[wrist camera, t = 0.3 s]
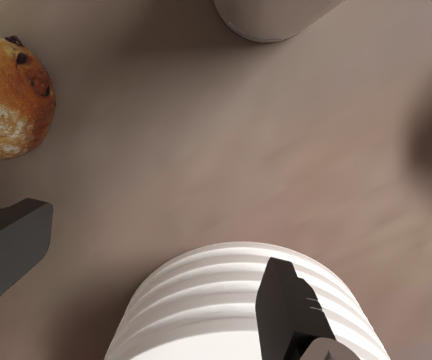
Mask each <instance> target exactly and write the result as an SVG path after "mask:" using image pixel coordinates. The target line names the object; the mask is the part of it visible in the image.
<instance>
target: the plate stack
mask: <svg viewBox="0 0 432 360" xmlns="http://www.w3.org/2000/svg"><path fill="white" fill-rule="evenodd" d="M270 257H274V258H278V259H282V260H286V261H290V262H292V264H293V266H294V269H295V271H296V274H297V276H298V277H299V278H303V279H304V280H305V281H306V282H307V283H308V284H309V285H310V286H311V287H312V288H313V290H314V292H315V294H316V296H317V298H318V302H319V303H320V305H321V307H322V311H323V312H324V314H325V316H326V318H327V320H328V322H329V325H330V327H331V329H332V331H333V333H334V336H335V338H336V340H337V341H338V342H340V343H342V344H343V345H345V346H346V347H348V348H349V349H351V350H352V351H353V352H354V353H355V354H356V355H357V356H358V357H359V358H360V360H391V359H390V358H389V356H388V354H387V352H386V350H385V349H384V347H383V345H382V343H381V342H380V340H379V338H378V337H377V335H376V333H375V332H374V330H373V328H372V326H371V325H370V323H369V321H368V319H367V318H366V316H365V314H364V313H363V311H362V309H361V308H360V306H359V304H358V302H357V301H356V299H355V297H354V296H353V294H352V293H351V291H350V290H349V288H348V287H347V286H346V285H345V284H344V283H343V282H342V280H341V279H340V278H339V277H338V276H336V275H335V274H334V273H333V272H332V271H330V270H329V269H328V268H326V267H325V266H324V265H322V264H321V263H319V262H317V261H316V260H314V259H312V258H310V257H308V256H306V255H304V254H301V253H299V252H296V251H294V250H291V249H288V248H284V247H281V246H277V245H272V244H266V243H258V242H226V243H218V244H212V245H208V246H204V247H200V248H197V249H193V250H191V251H188V252H185V253H183V254H181V255H179V256H177V257H175V258H173V259H171V260H169V261H168V262H166V263H164V264H163V265H161V266H160V267H159V268H157V269H156V270H155V271H154V272H152V273H151V274H150V275H149V276H148V277H147V278H146V279H145V280H144V281H143V282H142V283H141V285H140V286H139V287H138V289H137V290H136V291H135V293H134V295H133V296H132V298H131V300H130V302H129V304H128V306H127V308H126V311H125V313H124V316H123V317H122V320H121V322H120V324H119V326H118V328H117V331H116V333H115V336H114V337H113V339H112V342H111V344H110V346H109V348H108V350H107V353H106V355H105V358H104V360H262V356H261V349H260V341H259V334H258V327H257V320H256V312H255V302H256V296H257V292H258V289H259V286H260V283H261V280H262V277H263V274H264V271H265V268H266V265H267V263H268V260H269V259H270Z"/></svg>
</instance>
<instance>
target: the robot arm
mask: <svg viewBox="0 0 432 360" xmlns="http://www.w3.org/2000/svg"><path fill="white" fill-rule="evenodd" d="M213 1H214V4H215V7H216V9H217V11H218V13H219V15H220V16H221V18H222V20H223V21H224V22H225V23H226V24H227V25H228V26H229V27H230V29H231V30H233V31H234V32H236V33H237V34H238V35H240V36H241V37H244V38H246V39H249V40H251V41H255V42H262V43H270V42H278V41H281V40H285V39H288V38H290V37H292V36H294V35H295V34H297V33H299V32H301V31H302V30H303V29H305V28H306V27H308V26H309V25H310V24H312V23H314V22H315V21H316V20H318V19H319V18H321V17H322V16H323V15H325V14H326V13H328V12H329V11H330V10H332V9H333V8H334V7H336V6H337V5H339V4H340V3H341V2H343V1H344V0H213ZM52 215H53V206H52V204H51V203H48V202H43V201H39V200H35V199H31V198H27V199H24V200H22V201H20V202H18V203H16V204H14V205H12V206H10V207H7V208H3V209H0V296H1V295H2V294H3V293H4V292H5V291H6V290H8V289H9V288H10V287H11V286H12V285H13V284H14V283H16V282H17V281H18V280H19V279H20V278H21V277H22V276H23V275H25V274H26V273H27V272H28V271H29V270H30V269H31V268H33V267H34V266H35V265H36V264H37V263H38V262H39V261H41V260H42V258H43V257H44V256H45V254H46V252H47V250H48V247H49V244H50V235H51V225H52ZM255 312H256V320H257V327H258V334H259V341H260V349H261V356H262V360H360V358H359V357H358V356H357V355H356V354H355V353H354V352H353V351H352V350H351V349H349V348H348V347H346V346H345V345H343V344H342V343H340V342H338V341H337V340H336V338H335V336H334V333H333V331H332V329H331V327H330V325H329V322H328V320H327V318H326V316H325V314H324V312H323V311H322V307H321V305H320V303H319V302H318V298H317V296H316V294H315V292H314V290H313V288H312V287H311V286H310V285H309V284H308V283H307V282H306V281H305V280H304V279H303V278H299V277H298V276H297V274H296V271H295V269H294V266H293V264H292V262H290V261H286V260H282V259H278V258H274V257H270V259H269V260H268V263H267V265H266V268H265V271H264V274H263V277H262V280H261V283H260V286H259V289H258V292H257V296H256V302H255Z"/></svg>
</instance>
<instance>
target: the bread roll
mask: <svg viewBox="0 0 432 360" xmlns="http://www.w3.org/2000/svg"><path fill="white" fill-rule="evenodd" d="M55 106H56V102H55V95H54V90H53V86H52V83H51V80H50V77H49V74H48V73H47V71H46V69H45V68H44V67H43V65H42V64H41V62H40V61H39V60H38V59H37V58H36V56H35V55H33V54H32V53H31V52H30V51H29V50H28V49H26V48H25V46H23V45H22V43H21V41H20V40H19V38H18V37H17V36H11V37H6V38H5V39H3V38H1V39H0V160H4V159H11V158H15V157H19V156H21V155H24V154H25V153H27V152H29V151H31V150H32V149H34V148H35V147H36V146H37V145H39V144H40V143H41V142H42V140H43V139H44V137H45V136H46V133H47V131H48V129H49V125H50V123H51V121H52V117H53V114H54V111H55Z"/></svg>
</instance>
